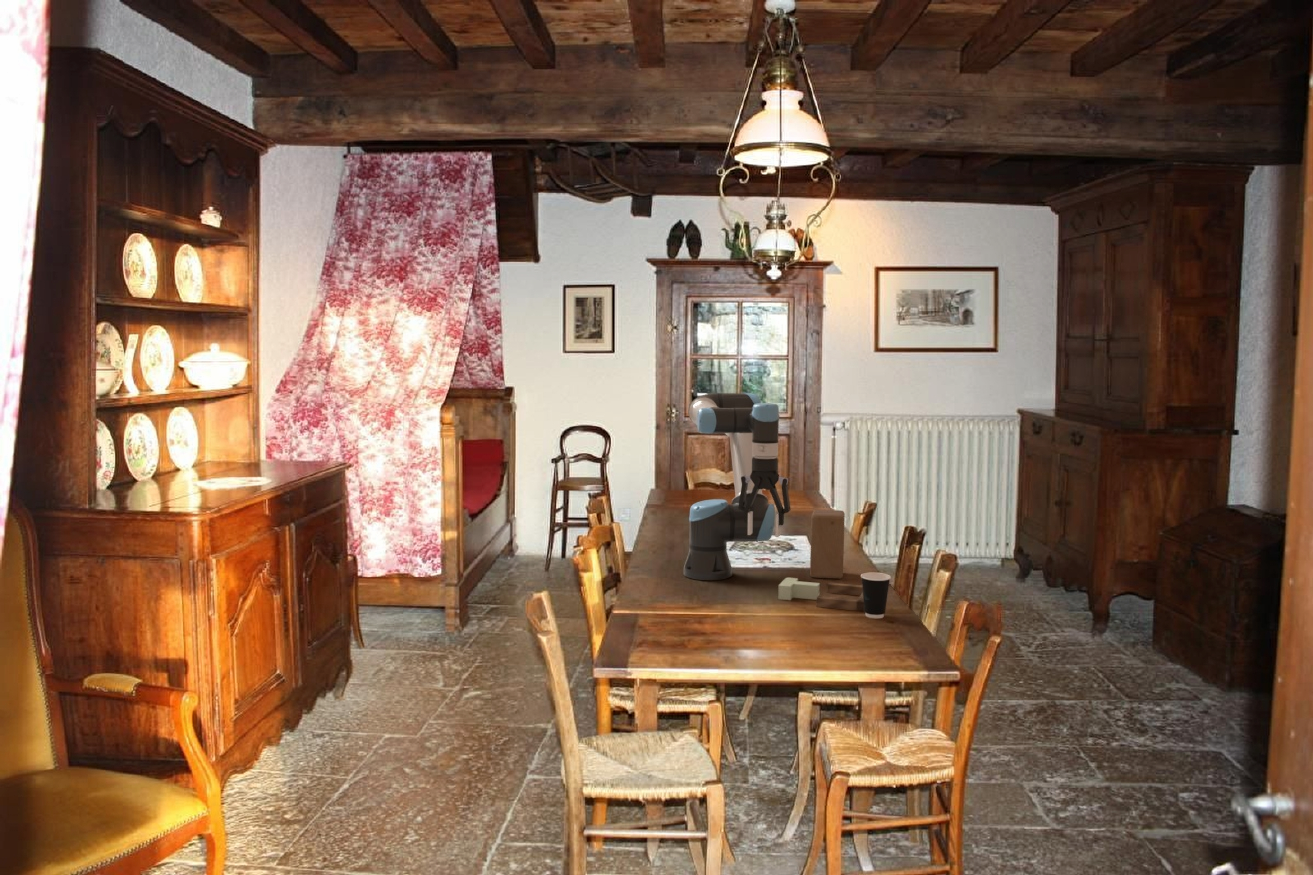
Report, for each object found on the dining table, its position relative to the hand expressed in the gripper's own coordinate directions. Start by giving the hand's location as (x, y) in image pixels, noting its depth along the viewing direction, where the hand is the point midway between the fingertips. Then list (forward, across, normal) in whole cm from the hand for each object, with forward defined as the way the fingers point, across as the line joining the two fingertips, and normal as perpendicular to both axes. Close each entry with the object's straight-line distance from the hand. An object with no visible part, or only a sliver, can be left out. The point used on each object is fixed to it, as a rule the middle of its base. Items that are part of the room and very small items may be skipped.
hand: (763, 535), depth 290 cm
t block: (+17, +11, 0) cm, 20 cm away
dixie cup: (+17, +34, -12) cm, 40 cm away
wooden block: (+17, +14, +28) cm, 36 cm away
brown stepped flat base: (+17, +24, 0) cm, 30 cm away
